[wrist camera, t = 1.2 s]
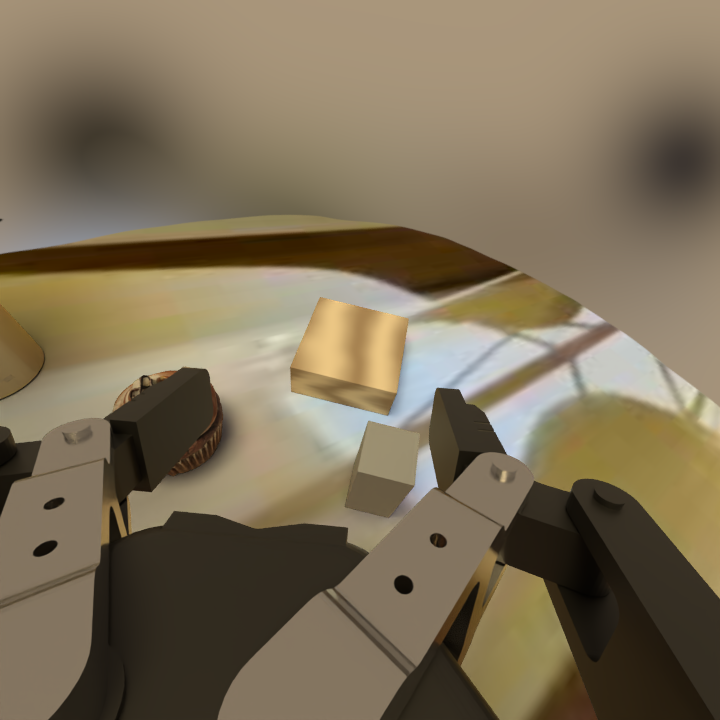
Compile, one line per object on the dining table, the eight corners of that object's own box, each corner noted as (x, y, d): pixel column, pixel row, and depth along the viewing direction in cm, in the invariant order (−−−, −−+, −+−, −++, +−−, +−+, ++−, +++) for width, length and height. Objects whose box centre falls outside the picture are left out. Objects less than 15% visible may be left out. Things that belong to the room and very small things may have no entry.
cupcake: (219, 389, 40) (199, 332, 33) (239, 463, 35) (221, 417, 28) (126, 415, 37) (80, 358, 29) (134, 501, 32) (80, 460, 24)
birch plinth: (291, 391, 41) (290, 367, 37) (318, 323, 49) (319, 297, 45) (387, 415, 41) (396, 393, 37) (400, 343, 49) (408, 318, 45)
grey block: (344, 506, 34) (357, 471, 26) (354, 464, 37) (368, 420, 29) (388, 518, 34) (414, 485, 26) (394, 474, 37) (419, 433, 29)
